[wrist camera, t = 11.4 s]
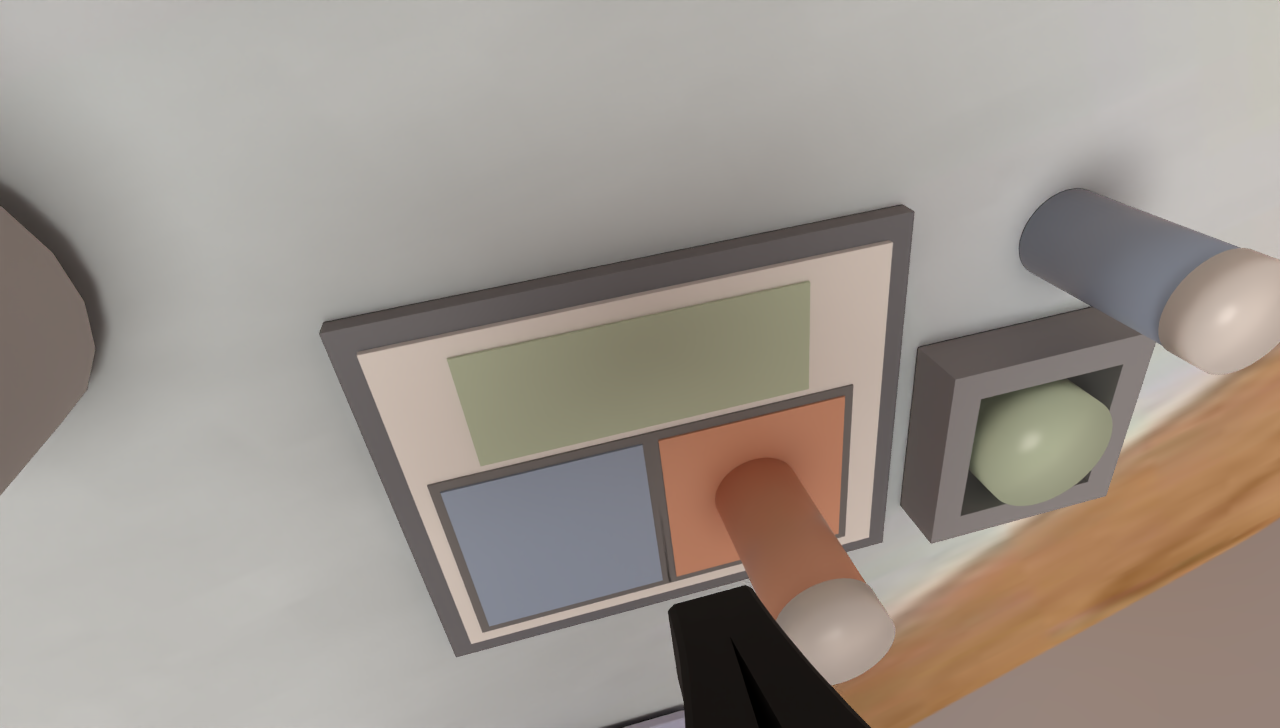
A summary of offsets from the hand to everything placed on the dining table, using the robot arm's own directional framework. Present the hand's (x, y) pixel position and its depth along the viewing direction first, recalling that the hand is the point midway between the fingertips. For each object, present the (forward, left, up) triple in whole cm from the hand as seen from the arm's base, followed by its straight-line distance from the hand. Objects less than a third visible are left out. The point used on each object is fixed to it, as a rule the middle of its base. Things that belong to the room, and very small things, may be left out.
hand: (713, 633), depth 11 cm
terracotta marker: (-6, -4, -9) cm, 11 cm away
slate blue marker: (0, -15, -10) cm, 18 cm away
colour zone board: (-4, -1, -10) cm, 11 cm away
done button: (-6, -13, -9) cm, 17 cm away
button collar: (-6, -14, -10) cm, 18 cm away
